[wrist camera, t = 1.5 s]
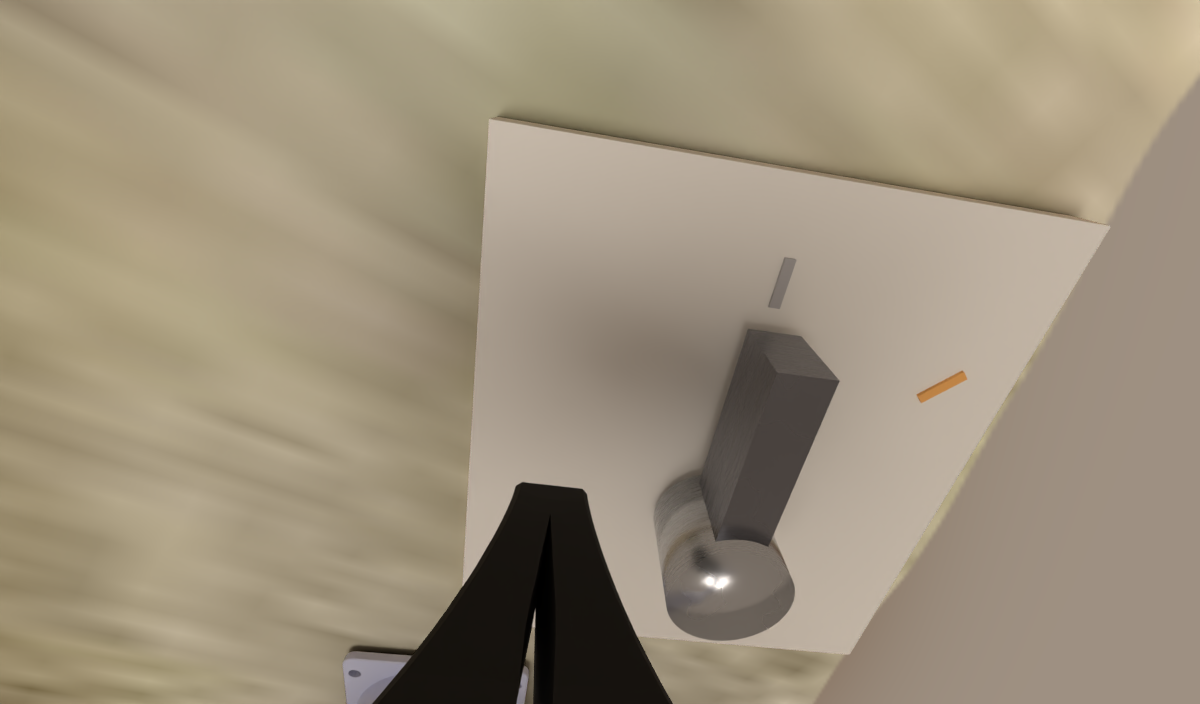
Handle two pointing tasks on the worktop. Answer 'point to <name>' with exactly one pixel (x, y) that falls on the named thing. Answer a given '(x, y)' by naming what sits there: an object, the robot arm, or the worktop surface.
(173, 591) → the worktop surface
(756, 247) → the dial panel
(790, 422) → the dial lever
